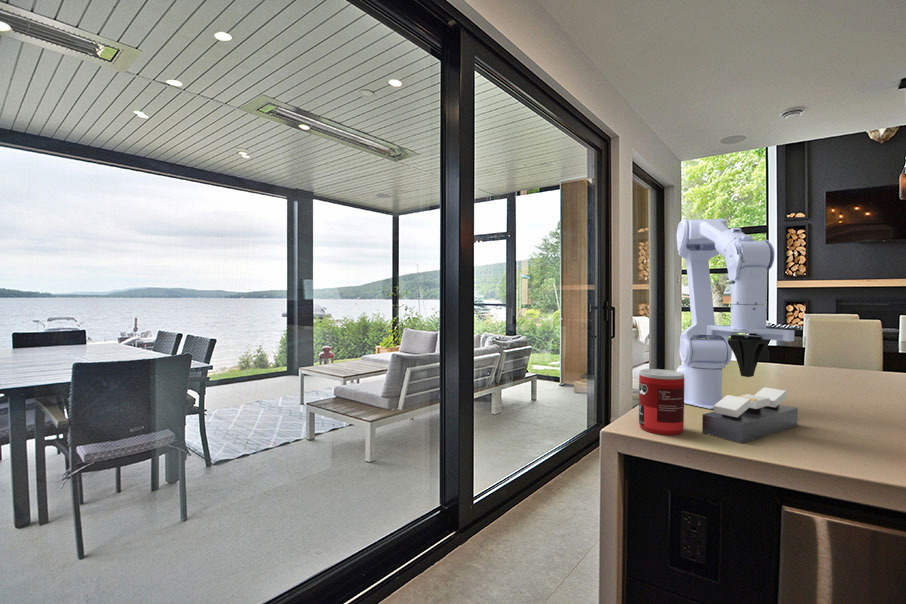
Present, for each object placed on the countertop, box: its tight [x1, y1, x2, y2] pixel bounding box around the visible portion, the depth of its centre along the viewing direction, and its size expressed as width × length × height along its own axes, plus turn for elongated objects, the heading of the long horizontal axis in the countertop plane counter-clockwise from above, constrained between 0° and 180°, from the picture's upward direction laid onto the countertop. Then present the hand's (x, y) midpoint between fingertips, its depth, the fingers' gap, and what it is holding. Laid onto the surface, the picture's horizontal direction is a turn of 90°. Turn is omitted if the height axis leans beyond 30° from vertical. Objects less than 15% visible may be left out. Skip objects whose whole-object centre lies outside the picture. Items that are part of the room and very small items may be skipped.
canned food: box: [638, 368, 685, 436], centre depth 88 cm, size 8×8×11 cm
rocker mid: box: [736, 393, 770, 409], centre depth 88 cm, size 4×5×2 cm
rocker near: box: [713, 394, 751, 417], centre depth 85 cm, size 4×5×1 cm
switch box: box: [701, 404, 799, 444], centre depth 90 cm, size 7×27×4 cm, turn 122°
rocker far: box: [754, 386, 788, 407], centre depth 92 cm, size 4×5×1 cm
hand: (747, 376), depth 87 cm, fingers closed
